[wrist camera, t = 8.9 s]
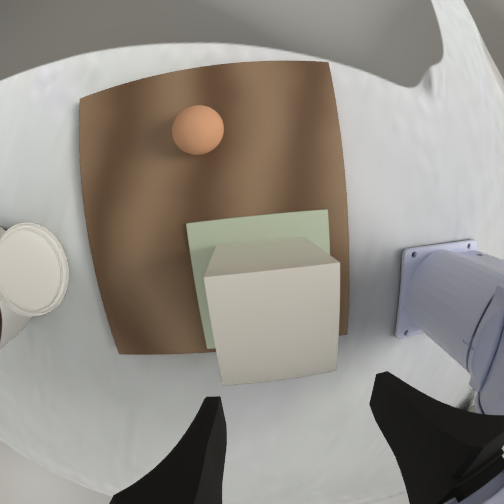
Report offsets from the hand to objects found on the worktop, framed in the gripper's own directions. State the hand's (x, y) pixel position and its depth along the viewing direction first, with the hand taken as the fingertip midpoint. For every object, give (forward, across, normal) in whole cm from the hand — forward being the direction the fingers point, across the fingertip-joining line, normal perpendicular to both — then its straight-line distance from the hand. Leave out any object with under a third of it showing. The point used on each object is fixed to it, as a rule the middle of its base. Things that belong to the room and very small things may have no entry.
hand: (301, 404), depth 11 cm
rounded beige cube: (+8, +1, -3) cm, 9 cm away
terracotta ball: (+7, +4, -13) cm, 15 cm away
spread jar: (+10, +22, -6) cm, 25 cm away
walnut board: (+9, +4, -8) cm, 13 cm away
